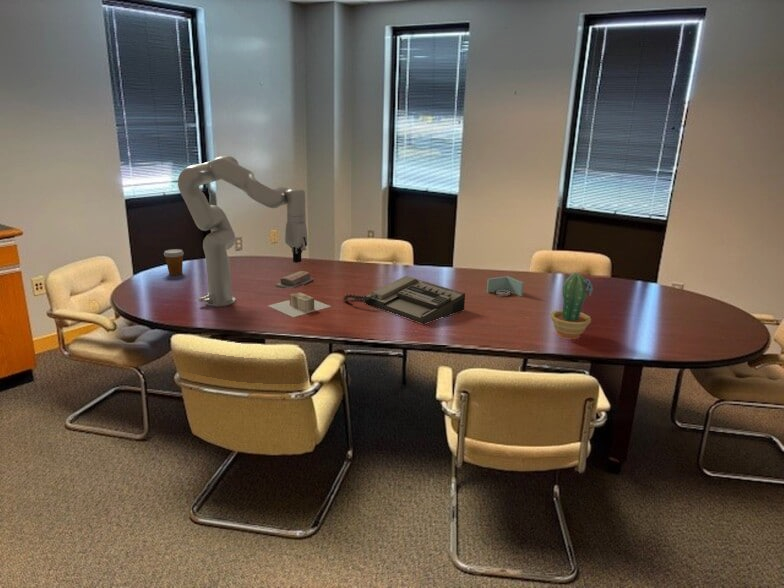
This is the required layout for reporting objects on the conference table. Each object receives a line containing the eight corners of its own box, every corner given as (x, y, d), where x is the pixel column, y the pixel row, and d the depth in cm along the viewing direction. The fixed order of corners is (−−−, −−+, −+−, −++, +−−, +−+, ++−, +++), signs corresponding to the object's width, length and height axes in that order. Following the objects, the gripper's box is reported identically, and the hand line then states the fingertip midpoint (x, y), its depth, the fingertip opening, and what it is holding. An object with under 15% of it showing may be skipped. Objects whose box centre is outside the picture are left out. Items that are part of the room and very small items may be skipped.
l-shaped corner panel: (486, 293, 269) (487, 278, 267) (506, 290, 275) (507, 276, 272) (502, 301, 259) (503, 285, 257) (522, 297, 265) (523, 282, 262)
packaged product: (297, 269, 286) (313, 271, 281) (297, 278, 287) (313, 281, 283) (275, 277, 270) (292, 280, 266) (275, 287, 272) (292, 290, 268)
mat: (293, 318, 230) (293, 317, 230) (267, 306, 243) (267, 305, 243) (331, 307, 244) (331, 306, 244) (304, 297, 257) (304, 296, 256)
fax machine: (337, 303, 251) (337, 282, 248) (391, 287, 275) (391, 269, 272) (410, 331, 221) (410, 308, 218) (463, 311, 245) (465, 290, 242)
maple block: (289, 305, 244) (304, 311, 237) (289, 294, 242) (304, 300, 235) (299, 302, 247) (314, 309, 240) (298, 292, 246) (314, 298, 238)
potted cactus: (572, 346, 209) (580, 282, 201) (539, 333, 221) (546, 272, 213) (597, 337, 217) (606, 276, 210) (564, 325, 229) (571, 266, 221)
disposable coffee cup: (166, 271, 291) (164, 249, 288) (185, 270, 294) (183, 248, 290) (165, 276, 283) (162, 253, 279) (185, 275, 285) (183, 252, 282)
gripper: (278, 217, 234) (279, 259, 240) (299, 223, 224) (300, 267, 230) (293, 215, 239) (294, 257, 245) (314, 221, 229) (315, 264, 235)
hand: (297, 261), depth 237 cm, fingers closed
